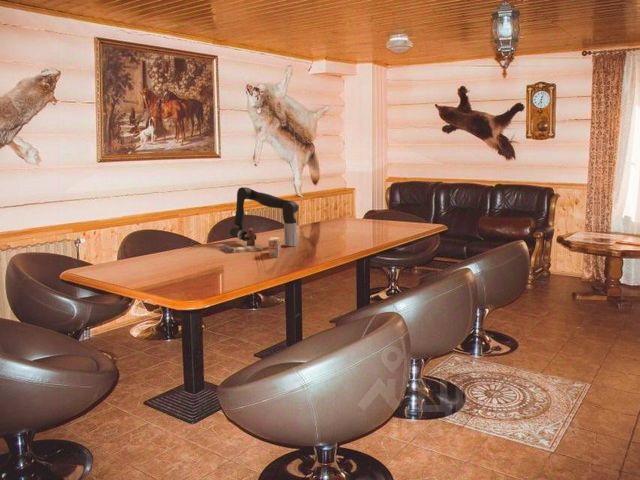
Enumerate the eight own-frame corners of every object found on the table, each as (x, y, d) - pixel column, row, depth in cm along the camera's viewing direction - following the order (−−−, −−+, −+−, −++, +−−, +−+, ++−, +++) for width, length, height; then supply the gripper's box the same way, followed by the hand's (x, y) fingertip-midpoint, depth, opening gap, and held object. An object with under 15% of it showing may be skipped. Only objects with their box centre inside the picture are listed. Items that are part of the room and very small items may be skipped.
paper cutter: (254, 246, 457) (254, 242, 456) (262, 250, 442) (262, 246, 441) (222, 249, 445) (222, 245, 445) (229, 253, 430) (229, 248, 430)
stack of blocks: (272, 251, 436) (271, 234, 434) (280, 252, 435) (280, 235, 433) (268, 257, 414) (268, 239, 412) (277, 257, 414) (277, 239, 412)
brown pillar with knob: (252, 246, 455) (252, 228, 452) (254, 247, 451) (254, 228, 448) (247, 247, 453) (246, 228, 450) (249, 248, 449) (248, 229, 446)
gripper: (234, 231, 459) (242, 234, 444) (252, 229, 466) (261, 232, 451) (235, 241, 460) (243, 244, 445) (252, 239, 467) (261, 242, 452)
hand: (252, 238), depth 448 cm, fingers closed on brown pillar with knob, 4 cm apart
